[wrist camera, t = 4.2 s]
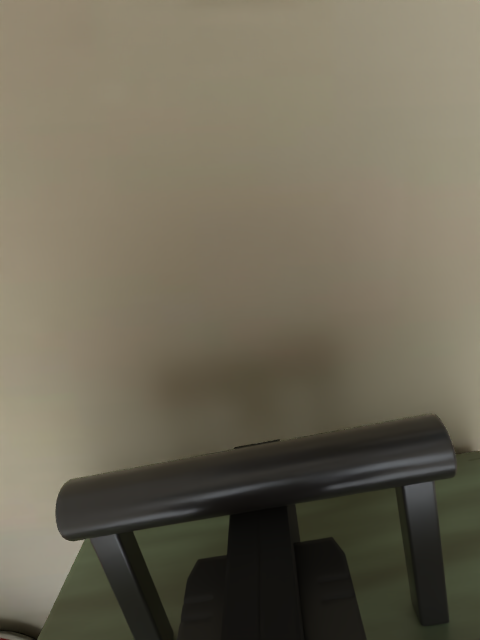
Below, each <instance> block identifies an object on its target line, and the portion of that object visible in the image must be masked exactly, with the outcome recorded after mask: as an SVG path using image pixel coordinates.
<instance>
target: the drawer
mask: <svg viewBox="0 0 480 640" xmlns="http://www.w3.org/2000/svg"><path fill="white" fill-rule="evenodd" d="M293 504H295V505H296V513H297V520H298V528H299V535H300V542H303V541H309V540H316V539H322V538H328V537H333V538H334V540H335V541H336V542H337V544H338V545H339V546H340V547H341V549H342V550H343V551H344V553H345V555H346V559H347V563H348V567H349V571H350V575H351V579H352V583H353V587H354V591H355V595H356V599H357V603H358V607H359V611H360V615H361V619H362V623H363V626H364V630H365V634H366V638H367V640H480V451H474V452H468V453H462V454H455V450H454V446H453V443H452V440H451V438H450V435H449V433H448V431H447V429H446V427H445V426H444V424H443V422H442V421H441V420H440V418H439V417H438V416H437V415H435V414H431V413H430V414H424V415H419V416H414V417H408V418H403V419H397V420H392V421H386V422H381V423H375V424H370V425H364V426H359V427H353V428H348V429H343V430H337V431H332V432H326V433H321V434H315V435H310V436H304V437H299V438H293V439H288V440H283V441H277V442H272V443H266V444H261V445H255V446H250V447H244V448H239V449H233V450H228V451H223V452H217V453H212V454H206V455H201V456H195V457H190V458H184V459H179V460H173V461H168V462H163V463H157V464H152V465H146V466H141V467H135V468H130V469H124V470H119V471H113V472H108V473H103V474H97V475H92V476H86V477H81V478H75V479H71V480H69V481H68V482H66V483H65V484H64V485H63V487H62V488H61V490H60V492H59V495H58V498H57V502H56V523H57V527H58V530H59V532H60V534H61V535H62V537H63V538H64V539H66V540H69V541H77V540H83V539H85V540H84V543H83V545H82V547H81V549H80V551H79V553H78V555H77V557H76V559H75V561H74V564H73V566H72V568H71V570H70V572H69V574H68V576H67V578H66V580H65V582H64V585H63V587H62V589H61V591H60V593H59V595H58V597H57V599H56V601H55V603H54V605H53V608H52V610H51V612H50V614H49V616H48V618H47V620H46V622H45V624H44V626H43V629H42V631H41V633H40V635H39V637H38V639H37V640H177V637H178V631H179V625H180V623H181V613H182V607H183V605H184V595H185V589H186V583H187V578H188V576H189V575H190V573H191V571H192V569H193V567H194V565H195V564H196V562H197V560H198V559H203V558H209V557H216V556H222V555H227V546H228V532H229V518H230V515H233V514H239V513H245V512H251V511H257V510H263V509H269V508H275V507H281V506H287V505H293Z"/></svg>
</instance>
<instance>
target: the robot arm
mask: <svg viewBox="0 0 480 640" xmlns="http://www.w3.org/2000/svg"><path fill="white" fill-rule="evenodd" d="M277 441H280V439H278V440H273V441H268V442H262V443H257V444H251V445H246V446H240V447H235V448H234V449H239V448H244V447H250V446H255V445H261V444H266V443H272V442H277ZM177 640H367V638H366V634H365V630H364V626H363V623H362V619H361V615H360V611H359V607H358V603H357V599H356V595H355V591H354V587H353V583H352V579H351V575H350V571H349V567H348V563H347V559H346V555H345V553H344V551H343V550H342V549H341V547H340V546H339V545H338V544H337V542H336V541H335V540H334V538H333V537H328V538H322V539H316V540H309V541H303V542H300V535H299V528H298V520H297V513H296V505H295V504H293V505H287V506H281V507H275V508H269V509H263V510H257V511H251V512H245V513H239V514H233V515H230V518H229V532H228V546H227V555H222V556H216V557H209V558H203V559H198V560H197V562H196V564H195V565H194V567H193V569H192V571H191V573H190V575H189V576H188V578H187V583H186V589H185V595H184V605H183V607H182V613H181V623H180V625H179V631H178V637H177Z"/></svg>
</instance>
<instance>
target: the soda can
mask: <svg viewBox="0 0 480 640" xmlns="http://www.w3.org/2000/svg"><path fill="white" fill-rule="evenodd" d="M0 640H35V639H33V638H31V637H28V636H26V635H23V634H19V633H15V632H7V631H0Z"/></svg>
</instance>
